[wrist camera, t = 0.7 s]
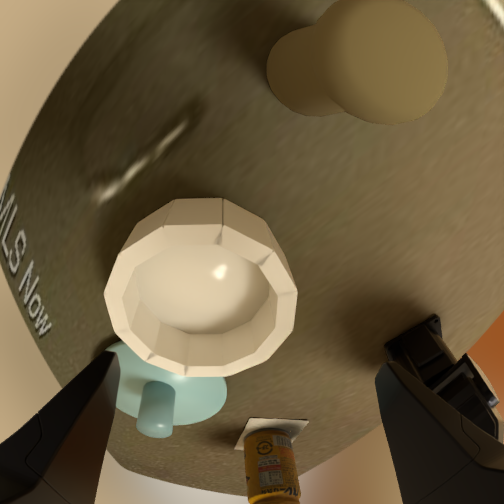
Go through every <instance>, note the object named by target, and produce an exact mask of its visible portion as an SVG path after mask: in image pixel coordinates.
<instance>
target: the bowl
mask: <svg viewBox="0 0 504 504" xmlns="http://www.w3.org/2000/svg"><path fill="white" fill-rule="evenodd" d="M297 294H298V291H297V288H296V285H295V282H294V279H293V276H292V274H291V271H290V268H289V265H288V263H287V260H286V257H285V255H284V253H283V251H282V249H281V248H280V246H279V244H278V242H277V241H276V239H275V237H274V235H273V234H272V232H271V230H270V228H269V227H268V225H267V223H266V222H265V221H264V219H262V218H260V217H258V216H256V215H254V214H253V213H251V212H249V211H247V210H245V209H243V208H241V207H239V206H238V205H236V204H234V203H232V202H230V201H228V200H226V199H223V201H222V198H194V199H175V200H172V201H171V202H169V203H168V204H166V205H164V206H163V207H161V208H160V209H158V210H156V211H155V212H153V213H152V214H150V215H149V216H147V217H146V218H144V219H142V220H141V221H139V222H138V223H137V224H136V226H135V227H134V229H133V231H132V232H131V234H130V236H129V237H128V239H127V241H126V242H125V244H124V246H123V247H122V249H121V251H120V253H119V254H118V257H117V259H116V262H115V264H114V267H113V270H112V272H111V275H110V278H109V280H108V283H107V286H106V288H105V291H104V297H105V301H106V304H107V308H108V312H109V315H110V318H111V322H112V325H113V329H114V332H115V333H116V334H117V335H118V336H119V337H120V338H121V339H122V340H123V341H124V342H125V343H126V344H127V345H128V346H129V347H130V348H131V349H132V350H133V351H134V352H135V353H136V354H137V355H138V356H139V357H140V358H141V359H142V360H143V361H145V360H146V361H145V362H147V363H149V364H152V365H154V366H157V367H160V368H162V369H165V370H168V371H170V372H173V373H176V374H178V375H181V376H186V377H227V375H228V376H230V375H233V374H235V373H238V372H240V371H243V370H245V369H248V368H250V367H253V366H255V365H257V364H260V363H262V362H265V361H266V360H268V359H269V357H270V356H271V355H272V354H273V353H274V352H275V351H276V350H277V348H278V347H279V346H280V345H281V344H282V343H283V342H284V340H285V339H286V338H287V337H288V336H289V335H290V333H291V332H292V330H293V326H294V318H295V310H296V302H297Z"/></svg>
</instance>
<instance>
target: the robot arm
mask: <svg viewBox="0 0 504 504" xmlns="http://www.w3.org/2000/svg"><path fill="white" fill-rule="evenodd" d="M384 348H385V351H386V354H387V357H388V360H389V362H384V363H383V364H382V366H381V368H380V370H379V372H378V373H377V375H376V378H375V386H376V392H377V397H378V403H379V408H380V414H381V419H382V423H383V426H384V430H385V433H386V437H387V441H388V444H389V448H390V452H391V456H392V460H393V464H394V467H395V471H396V476H397V480H398V484H399V488H400V493H401V497H402V501H403V504H504V444H503V438H504V421H503V419H502V417H501V416H500V414H499V412H498V411H497V409H496V407H495V406H496V405H497V404H498V403H499V402H500V401H499V399H498V397H497V395H496V393H495V391H494V389H493V387H492V386H491V384H490V382H489V380H488V379H487V377H486V376H485V374H484V373H483V372H482V370H481V369H480V368H479V366H478V365H477V364H476V363H475V362H474V361H473V360H472V359H471V358H470V357H469V355H468V354H467V353H465V354H464V355H463V356H462V358H461V359H460V360H459V361H457V360H456V358H455V357H454V355H453V354H452V353H451V351H450V350H449V348H448V347H447V345H446V344H445V343H444V341H443V340H442V331H441V322H440V318H439V316H438V315H435V316H433V317H431V318H430V319H428V320H426V321H425V322H423V323H421V324H420V325H418V326H416V327H415V328H413V329H411V330H409V331H408V332H406V333H404V334H402V335H401V336H399V337H397V338H395V339H393V340H392V341H390V342H388V343H386V344H385V346H384ZM120 374H121V369H120V364H119V359H118V355H117V353H116V352H115V351H109V350H104V351H103V352H102V353H101V354H99V355H98V356H97V357H96V358H95V359H94V360H93V361H92V362H91V363H90V364H89V365H87V366H86V367H85V368H84V369H83V370H82V371H81V372H80V373H79V374H78V375H77V376H76V377H74V378H73V379H72V380H71V381H70V382H69V383H68V384H67V385H66V386H65V387H64V388H63V389H62V390H61V391H60V392H58V393H57V394H56V395H55V396H54V397H53V398H52V399H51V400H50V401H49V402H48V403H47V404H46V405H45V406H44V407H43V408H42V409H41V410H39V411H38V413H36V414H35V415H34V416H33V417H32V418H31V419H30V420H29V421H28V422H27V423H25V424H24V425H23V426H22V427H21V428H20V429H19V430H18V431H16V432H15V433H14V434H13V435H11V436H10V437H9V438H7V439H6V440H5V441H3V442H2V443H1V444H0V504H94V502H95V497H96V492H97V487H98V482H99V477H100V473H101V468H102V464H103V459H104V455H105V451H106V447H107V443H108V439H109V435H110V431H111V427H112V423H113V419H114V414H115V408H116V401H117V394H118V387H119V381H120Z"/></svg>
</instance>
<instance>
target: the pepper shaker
mask: <svg viewBox="0 0 504 504" xmlns="http://www.w3.org/2000/svg"><path fill="white" fill-rule="evenodd" d="M447 77H448V59H447V55H446V51H445V47H444V44H443V41H442V39H441V37H440V35H439V34H438V32H437V30H436V28H435V27H434V25H433V24H432V23H431V22H430V21H429V19H428V18H427V17H426V16H425V15H424V14H423V13H422V12H421V11H420V10H418V9H416V8H415V7H413V6H412V5H410V4H409V3H407V2H405V1H404V0H339V1H337V2H335V3H334V4H332V5H331V6H330V7H329V8H328V9H327V10H326V11H325V12H324V14H323V15H322V16H321V17H320V18H319V19H318V21H317V23H316V24H315V25H311V26H308V27H304V28H301V29H297V30H294V31H292V32H290V33H288V34H286V35H285V36H283V37H281V38H280V39H279V40H278V41H277V43H276V44H275V45H274V46H273V47H272V49H271V51H270V54H269V57H268V59H267V79H268V82H269V85H270V88H271V90H272V92H273V93H274V94H275V96H276V97H277V98H278V100H279V101H280V102H281V103H282V104H284V105H285V106H286V107H288V108H289V109H290V110H292V111H294V112H297V113H300V114H303V115H305V116H320V117H321V116H325V115H330V114H335V113H340V112H347V113H349V114H351V115H353V116H355V117H358V118H360V119H362V120H364V121H367V122H370V123H376V124H385V125H396V124H400V123H404V122H409V121H413V120H417V119H418V118H420V117H421V116H423V115H424V114H426V113H427V112H429V111H430V110H431V109H432V107H433V106H434V105H435V103H436V102H437V100H438V99H439V98H440V96H441V95H442V93H443V91H444V88H445V84H446V81H447Z"/></svg>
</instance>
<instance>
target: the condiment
mask: <svg viewBox="0 0 504 504" xmlns="http://www.w3.org/2000/svg"><path fill="white" fill-rule="evenodd" d="M308 422H309V421H302V420H288V419H275V418H274V419H264V418H260V419H257V418H250V419H249V421H248V423H247V425H246V427H245V429H244V431H243V433H242V435H241V436H240V438H239V440H238V442H237V444H236V446H235V449H234V450H244V458H245V470H246V471H245V472H246V481H247V494H248V501H249V503H250V504H300V502H299V498H300V496H301V492H300V486H299V480H298V476H297V470H296V464H295V459H294V453H293V447H292V442H293V441H294V440H295V438H296V437H297V436H298V435H299V434H300V432H301V431H302V429H303V428H304V427H305V426H306V425H307V423H308ZM263 426H264V427H263ZM261 427H262V428H261ZM290 431H291V432H290Z"/></svg>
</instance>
